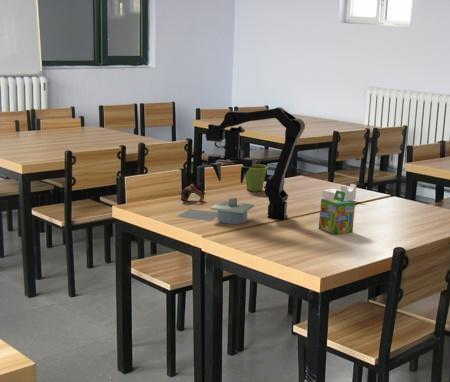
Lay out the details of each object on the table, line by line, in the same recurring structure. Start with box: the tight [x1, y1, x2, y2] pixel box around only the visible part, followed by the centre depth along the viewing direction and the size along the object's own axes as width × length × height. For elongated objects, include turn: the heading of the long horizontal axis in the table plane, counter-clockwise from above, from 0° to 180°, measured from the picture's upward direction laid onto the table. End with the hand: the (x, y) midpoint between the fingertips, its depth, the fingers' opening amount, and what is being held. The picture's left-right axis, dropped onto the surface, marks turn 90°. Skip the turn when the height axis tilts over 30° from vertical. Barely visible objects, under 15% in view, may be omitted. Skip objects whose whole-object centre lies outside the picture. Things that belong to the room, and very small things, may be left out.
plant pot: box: [244, 163, 269, 192], centre depth 327 cm, size 12×12×11 cm
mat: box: [175, 208, 217, 222], centre depth 275 cm, size 14×14×1 cm
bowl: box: [216, 210, 248, 225], centre depth 269 cm, size 11×11×5 cm
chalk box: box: [318, 189, 356, 235], centre depth 259 cm, size 9×9×15 cm
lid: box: [210, 197, 255, 213], centre depth 268 cm, size 13×13×4 cm
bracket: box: [322, 183, 357, 201], centre depth 315 cm, size 13×7×8 cm, turn 39°
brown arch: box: [180, 183, 206, 203], centre depth 299 cm, size 12×10×8 cm
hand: (230, 182), depth 282 cm, fingers open, 9 cm apart
